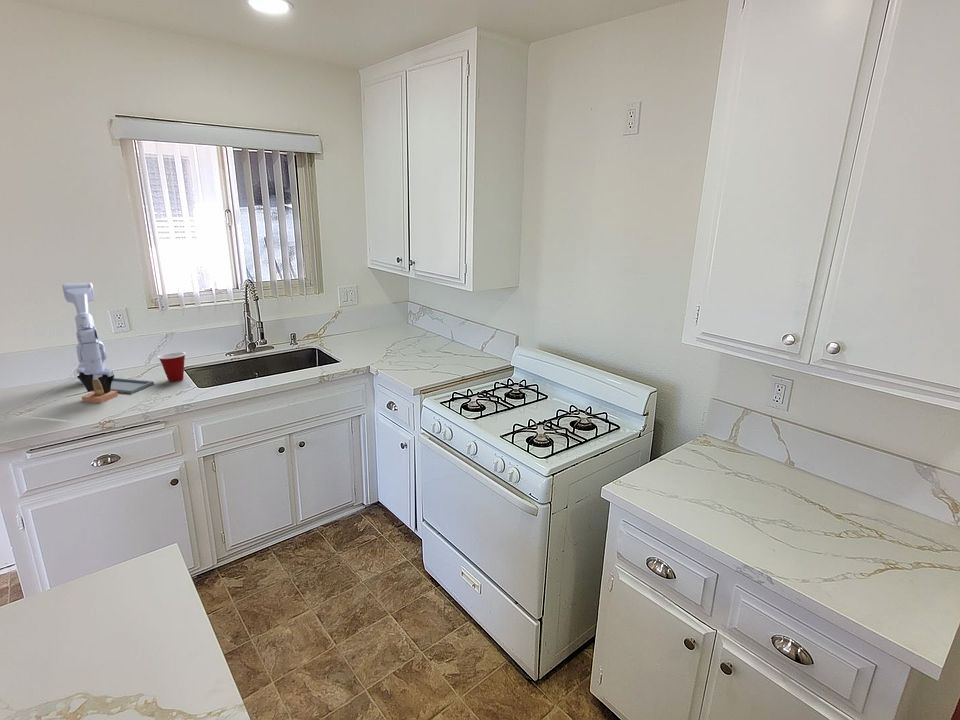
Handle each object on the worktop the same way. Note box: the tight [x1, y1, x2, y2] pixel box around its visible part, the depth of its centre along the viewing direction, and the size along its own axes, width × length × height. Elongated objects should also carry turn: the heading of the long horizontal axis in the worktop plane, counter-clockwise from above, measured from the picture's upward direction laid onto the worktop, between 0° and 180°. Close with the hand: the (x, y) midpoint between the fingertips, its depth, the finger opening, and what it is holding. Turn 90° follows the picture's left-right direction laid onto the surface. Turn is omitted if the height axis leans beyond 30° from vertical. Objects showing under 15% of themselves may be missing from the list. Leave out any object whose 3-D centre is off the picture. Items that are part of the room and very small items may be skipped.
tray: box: [110, 377, 155, 395], centre depth 222 cm, size 20×12×2 cm, turn 81°
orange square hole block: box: [81, 391, 119, 404], centre depth 209 cm, size 8×8×2 cm
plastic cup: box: [157, 351, 186, 383], centre depth 231 cm, size 11×11×12 cm
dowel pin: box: [92, 378, 104, 396], centre depth 208 cm, size 3×3×8 cm
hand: (99, 391), depth 208 cm, fingers open, 7 cm apart
